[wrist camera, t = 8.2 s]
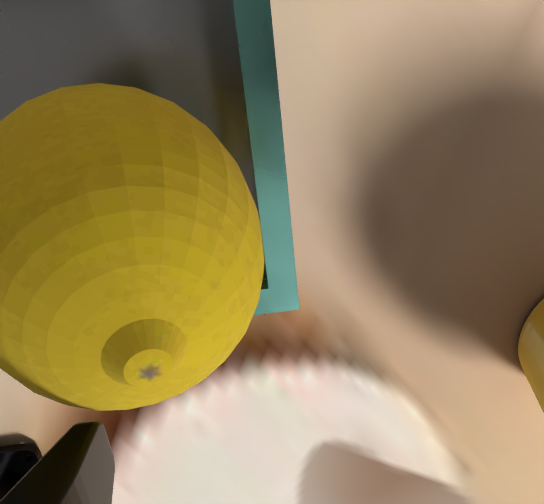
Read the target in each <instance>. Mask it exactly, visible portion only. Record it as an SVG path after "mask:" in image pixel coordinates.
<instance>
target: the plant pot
mask: <svg viewBox="0 0 544 504" xmlns="http://www.w3.org/2000/svg"><path fill="white" fill-rule="evenodd" d="M518 356H519V360H520V364H521V366H522V369H523V371H524V373H525V375H526V377H527V379H528V381H529V383H530V385H531V387H532V390H533V392H534V394H535V396H536V398H537V400H538V402H539V404H540V406H541V408H542V410H543V412H544V298H543V299H542V300H541V301H540V302H539V303H538V305H537V306H536V307H535V308H534V309H533V311H532V312H531V313H530V315H529V317H528V318H527V320H526V322H525V324H524V326H523V328H522V331H521V334H520V337H519V342H518Z"/></svg>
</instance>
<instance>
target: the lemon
mask: <svg viewBox="0 0 544 504" xmlns="http://www.w3.org/2000/svg"><path fill="white" fill-rule="evenodd" d="M263 272H264V252H263V243H262V235H261V227H260V220H259V215H258V211H257V208H256V205H255V202H254V200H253V197H252V195H251V193H250V191H249V188H248V186H247V184H246V181H245V179H244V177H243V174H242V172H241V170H240V168H239V166H238V164H237V163H236V161H235V160H234V158H233V157H232V156H231V154H230V153H229V152H228V151H227V150H226V148H225V147H224V146H223V145H222V143H221V142H220V141H219V140H218V139H217V137H216V136H215V135H214V134H213V132H212V131H211V130H210V129H209V128H208V127H207V126H206V125H204V124H203V123H202V122H200V121H199V120H197V119H196V118H195V117H193V116H192V115H191V114H189V113H188V112H186V111H185V110H184V109H182V108H181V107H180V106H178V105H177V104H175V103H174V102H172V101H169V100H167V99H164V98H162V97H159V96H156V95H154V94H151V93H149V92H146V91H143V90H141V89H138V88H135V87H128V86H119V85H111V84H103V83H94V84H85V85H77V86H69V87H61V88H58V89H56V90H53V91H51V92H48V93H46V94H43V95H41V96H38V97H36V98H33V99H31V100H28V101H26V102H25V103H23V104H22V105H21V106H19V107H18V108H17V109H15V110H14V111H13V112H11V113H10V114H9V115H8V116H6V117H5V118H4V119H2V120H1V121H0V368H1V369H2V370H3V371H5V372H6V373H8V374H9V375H10V376H12V377H13V378H14V379H16V380H17V381H19V382H20V383H22V384H23V385H24V386H26V387H27V388H29V389H30V390H31V391H33V392H34V393H37V394H39V395H42V396H44V397H47V398H49V399H52V400H54V401H57V402H59V403H62V404H65V405H69V406H74V407H80V408H86V409H93V410H99V411H100V410H128V409H132V408H137V407H142V406H147V405H151V404H156V403H158V402H161V401H163V400H166V399H168V398H171V397H174V396H176V395H179V394H181V393H183V392H184V391H186V390H188V389H189V388H191V387H192V386H194V385H196V384H197V383H199V382H201V381H202V380H204V379H205V378H206V377H207V376H208V375H210V374H211V373H212V372H213V371H214V370H215V369H216V368H217V367H218V366H220V365H221V364H222V363H223V362H224V361H225V360H226V358H227V357H228V356H229V355H230V353H231V352H232V351H233V349H234V348H235V347H236V345H237V344H238V343H239V341H240V340H241V339H242V337H243V336H244V335H245V333H246V331H247V328H248V326H249V324H250V321H251V319H252V317H253V314H254V312H255V310H256V307H257V304H258V302H259V298H260V292H261V285H262V279H263Z"/></svg>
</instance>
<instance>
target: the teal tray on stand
mask: <svg viewBox="0 0 544 504" xmlns="http://www.w3.org/2000/svg"><path fill="white" fill-rule="evenodd" d="M94 83H103V84H111V85H119V86H128V87H135V88H138V89H141V90H143V91H146V92H149V93H151V94H154V95H156V96H159V97H162V98H164V99H167V100H169V101H172V102H174V103H175V104H177V105H178V106H180V107H181V108H182V109H184V110H185V111H186V112H188V113H189V114H191V115H192V116H193V117H195V118H196V119H197V120H199V121H200V122H202V123H203V124H204V125H206V126H207V127H208V128H209V129H210V130H211V131H212V132H213V134H214V135H215V136H216V137H217V139H218V140H219V141H220V142H221V143H222V145H223V146H224V147H225V148H226V150H227V151H228V152H229V153H230V154H231V156H232V157H233V158H234V160H235V161H236V163H237V164H238V166H239V168H240V170H241V172H242V174H243V177H244V179H245V181H246V184H247V186H248V188H249V191H250V193H251V195H252V197H253V200H254V202H255V205H256V208H257V211H258V215H259V220H260V227H261V235H262V243H263V252H264V272H263V279H262V285H261V292H260V298H259V302H258V304H257V307H256V310H255V312H254V314H253V315H260V314H268V313H275V312H283V311H290V310H297V309H299V300H298V290H297V279H296V269H295V258H294V248H293V237H292V227H291V216H290V206H289V195H288V185H287V174H286V164H285V153H284V143H283V132H282V122H281V111H280V101H279V90H278V80H277V69H276V59H275V48H274V38H273V28H272V17H271V7H270V0H0V121H1V120H2V119H4V118H5V117H6V116H8V115H9V114H10V113H11V112H13V111H14V110H15V109H17V108H18V107H19V106H21V105H22V104H23V103H25V102H26V101H28V100H31V99H33V98H36V97H38V96H41V95H43V94H46V93H48V92H51V91H53V90H56V89H58V88H61V87H69V86H77V85H85V84H94Z"/></svg>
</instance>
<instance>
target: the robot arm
mask: <svg viewBox="0 0 544 504" xmlns="http://www.w3.org/2000/svg"><path fill="white" fill-rule="evenodd" d="M25 454H28V455H30V456H27V455H25ZM114 473H115V462H114V456H113V453H112V450H111V446H110V443H109V440H108V437H107V434H106V431H105V428H104V426H103V424H102V423H101V422H100V421H97V420H96V421H89V422H81V423H77V424H75V425H73V426H72V427H71V428H70V429H69V430H68V431H67V432H66V433H65V434H64V435H63V436H62V437H61V438H60V439H59V440H58V442H57V443H56V444H55V445H54V446H53V447H52V448H51V449H50V450H49V451H48V452H47V453H46V454H45V455H44V456H43V457H42V454H41V452H40V450H39V448H38V447H37V446H35V445H33V444H19V445H12V446H5V447H0V504H112V493H113V483H114Z"/></svg>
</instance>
